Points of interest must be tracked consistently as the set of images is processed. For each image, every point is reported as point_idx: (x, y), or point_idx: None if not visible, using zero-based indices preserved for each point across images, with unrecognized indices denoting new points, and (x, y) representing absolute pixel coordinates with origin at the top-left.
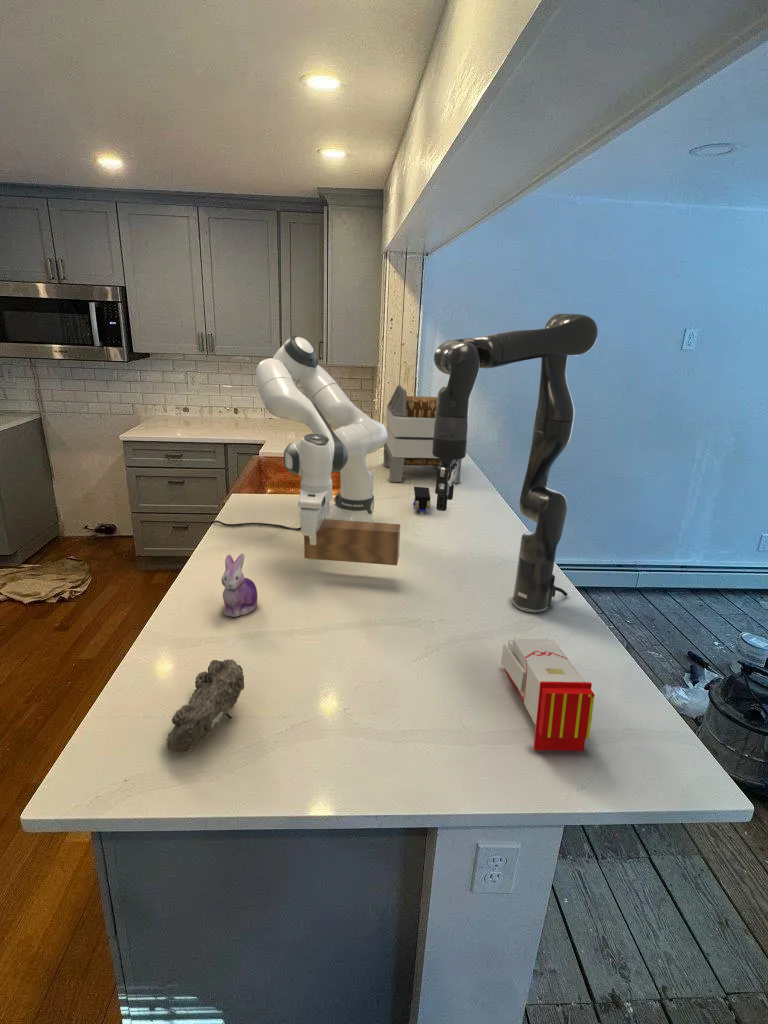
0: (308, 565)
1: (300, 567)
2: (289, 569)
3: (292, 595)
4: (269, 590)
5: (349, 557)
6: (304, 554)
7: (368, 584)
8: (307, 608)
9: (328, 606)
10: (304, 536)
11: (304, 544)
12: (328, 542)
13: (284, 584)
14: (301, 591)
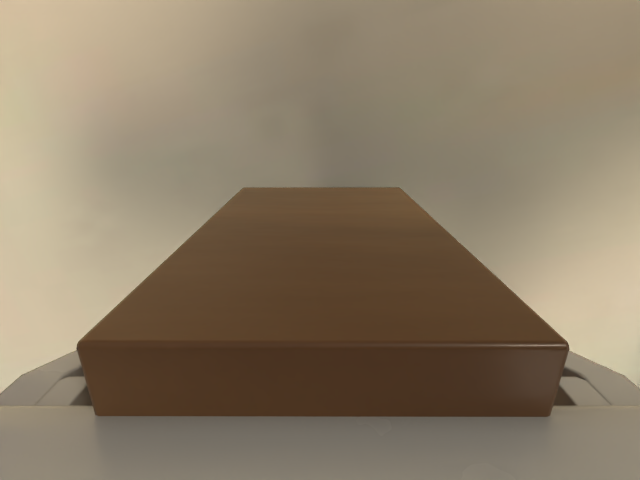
0: (429, 144)
1: (399, 105)
2: (364, 46)
3: (86, 149)
4: (85, 5)
5: None
6: (235, 195)
7: None
8: (9, 242)
9: (64, 313)
10: (175, 255)
11: (208, 221)
12: None
13: (179, 72)
14: (139, 181)
